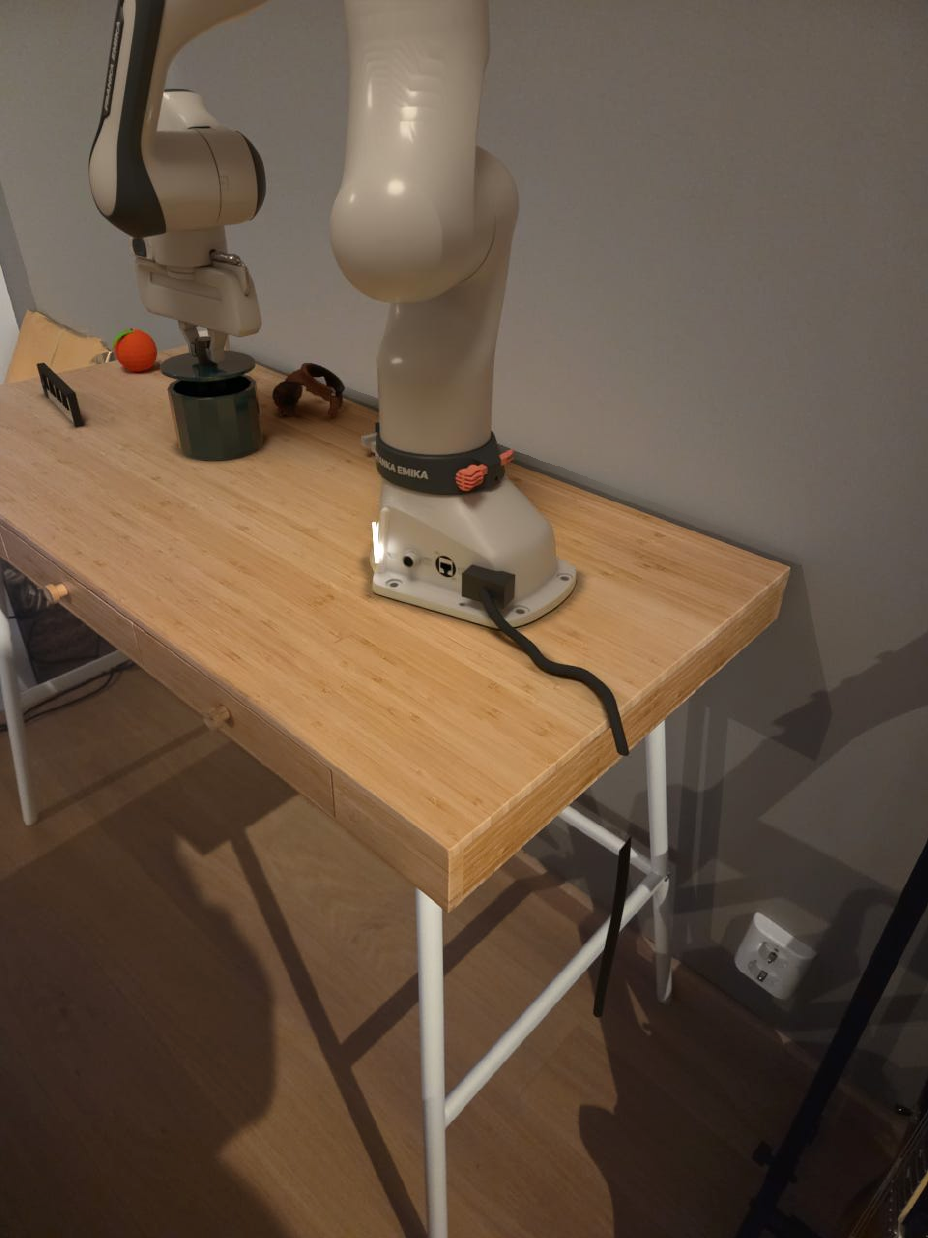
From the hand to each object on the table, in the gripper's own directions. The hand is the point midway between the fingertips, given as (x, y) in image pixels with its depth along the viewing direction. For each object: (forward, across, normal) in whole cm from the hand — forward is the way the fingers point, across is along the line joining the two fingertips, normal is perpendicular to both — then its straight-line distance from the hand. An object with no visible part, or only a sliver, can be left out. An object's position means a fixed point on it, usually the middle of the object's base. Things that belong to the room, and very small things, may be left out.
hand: (207, 358), depth 109 cm
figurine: (+12, -22, -16) cm, 30 cm away
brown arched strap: (+12, 0, -16) cm, 20 cm away
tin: (+12, 0, 0) cm, 12 cm away
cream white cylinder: (+12, +26, -19) cm, 34 cm away
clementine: (+12, +38, -12) cm, 42 cm away
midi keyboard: (+12, +30, +6) cm, 33 cm away
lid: (+1, 0, 0) cm, 1 cm away
